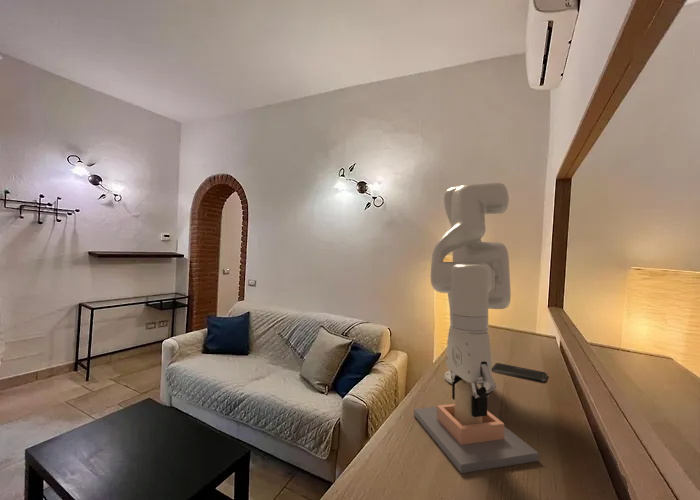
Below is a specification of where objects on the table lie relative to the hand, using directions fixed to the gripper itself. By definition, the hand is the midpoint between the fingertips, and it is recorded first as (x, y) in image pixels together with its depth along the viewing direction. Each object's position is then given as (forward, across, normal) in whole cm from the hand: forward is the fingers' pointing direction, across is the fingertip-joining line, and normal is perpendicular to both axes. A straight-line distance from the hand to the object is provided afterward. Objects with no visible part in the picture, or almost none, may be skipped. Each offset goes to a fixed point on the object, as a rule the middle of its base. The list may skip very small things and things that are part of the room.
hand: (468, 406), depth 67 cm
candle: (+5, 0, 0) cm, 5 cm away
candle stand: (+6, 0, 0) cm, 6 cm away
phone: (+7, -28, +36) cm, 46 cm away
